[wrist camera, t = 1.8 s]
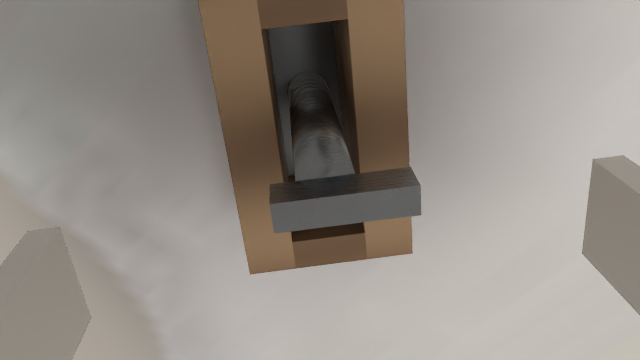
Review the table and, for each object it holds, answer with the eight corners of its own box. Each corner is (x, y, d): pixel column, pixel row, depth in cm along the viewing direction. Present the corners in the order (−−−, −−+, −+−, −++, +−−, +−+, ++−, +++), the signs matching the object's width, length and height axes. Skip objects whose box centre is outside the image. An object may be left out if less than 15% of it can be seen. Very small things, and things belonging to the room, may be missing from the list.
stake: (269, 76, 24) (266, 188, 14) (359, 65, 25) (420, 169, 14) (275, 115, 25) (276, 247, 15) (362, 104, 25) (421, 228, 15)
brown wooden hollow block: (215, -23, 23) (197, -4, 17) (371, -41, 23) (402, -27, 17) (260, 234, 28) (257, 310, 22) (386, 218, 28) (413, 290, 23)
